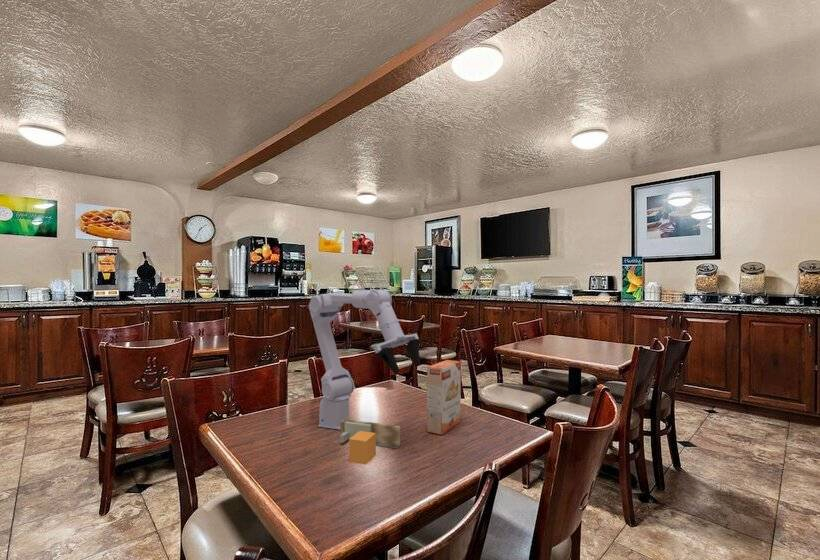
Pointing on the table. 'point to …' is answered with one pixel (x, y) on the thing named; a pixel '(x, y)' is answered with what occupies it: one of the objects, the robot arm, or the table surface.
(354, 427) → the sliding gate
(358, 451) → the block
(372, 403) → the table surface
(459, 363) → the cracker box
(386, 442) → the wooden track base
